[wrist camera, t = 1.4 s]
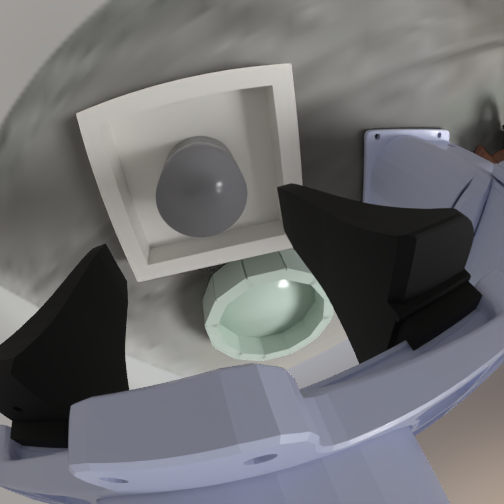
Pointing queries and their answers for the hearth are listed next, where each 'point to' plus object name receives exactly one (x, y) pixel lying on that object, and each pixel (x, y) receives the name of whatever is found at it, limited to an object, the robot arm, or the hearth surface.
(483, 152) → the pottery mug
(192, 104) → the parts tray
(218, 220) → the grey short cylinder
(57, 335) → the robot arm
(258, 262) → the sage bowl
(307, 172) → the hearth surface
